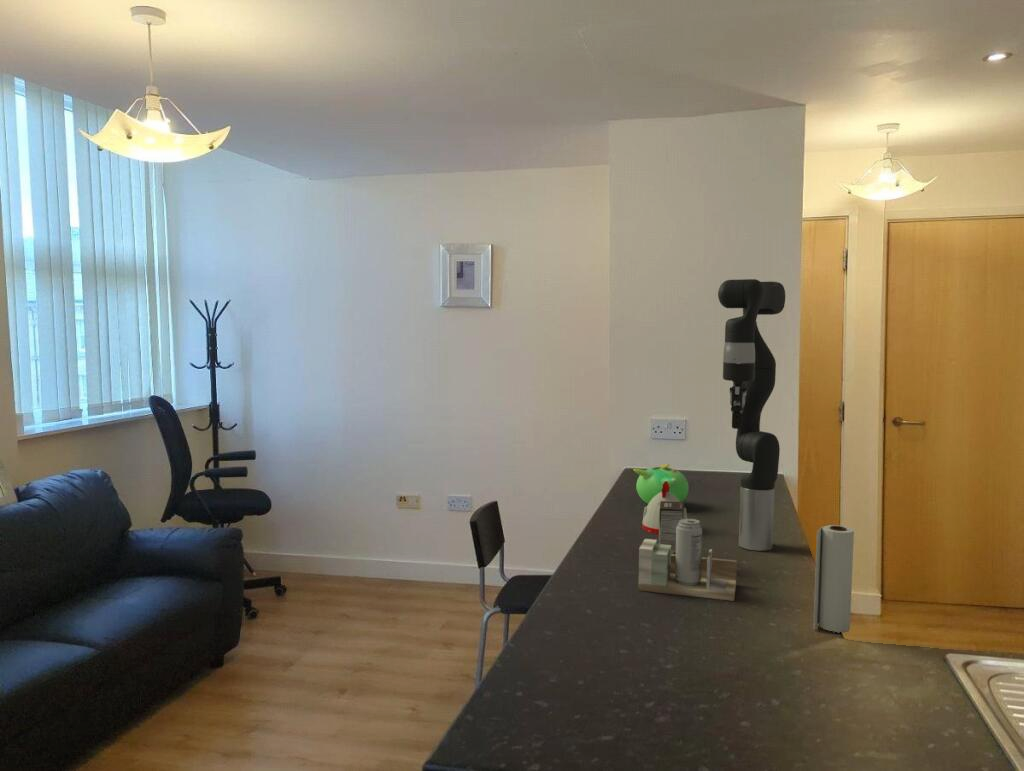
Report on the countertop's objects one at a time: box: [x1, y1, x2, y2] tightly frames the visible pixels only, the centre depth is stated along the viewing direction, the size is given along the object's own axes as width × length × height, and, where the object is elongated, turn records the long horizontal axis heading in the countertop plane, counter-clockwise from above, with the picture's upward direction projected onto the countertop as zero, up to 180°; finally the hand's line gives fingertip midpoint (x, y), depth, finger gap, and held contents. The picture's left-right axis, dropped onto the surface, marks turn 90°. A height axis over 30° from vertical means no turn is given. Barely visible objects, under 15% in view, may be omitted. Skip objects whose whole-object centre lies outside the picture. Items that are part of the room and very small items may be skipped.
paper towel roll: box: [812, 524, 855, 634], centre depth 163 cm, size 7×6×21 cm
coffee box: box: [658, 501, 685, 555], centre depth 206 cm, size 9×6×16 cm
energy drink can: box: [675, 518, 703, 586], centre depth 187 cm, size 6×6×15 cm
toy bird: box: [632, 463, 690, 505], centre depth 272 cm, size 18×17×15 cm
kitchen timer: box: [641, 481, 688, 535], centre depth 242 cm, size 14×14×15 cm
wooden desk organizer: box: [637, 538, 738, 602], centre depth 188 cm, size 12×22×10 cm, turn 72°
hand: (737, 426), depth 194 cm, fingers open, 8 cm apart
